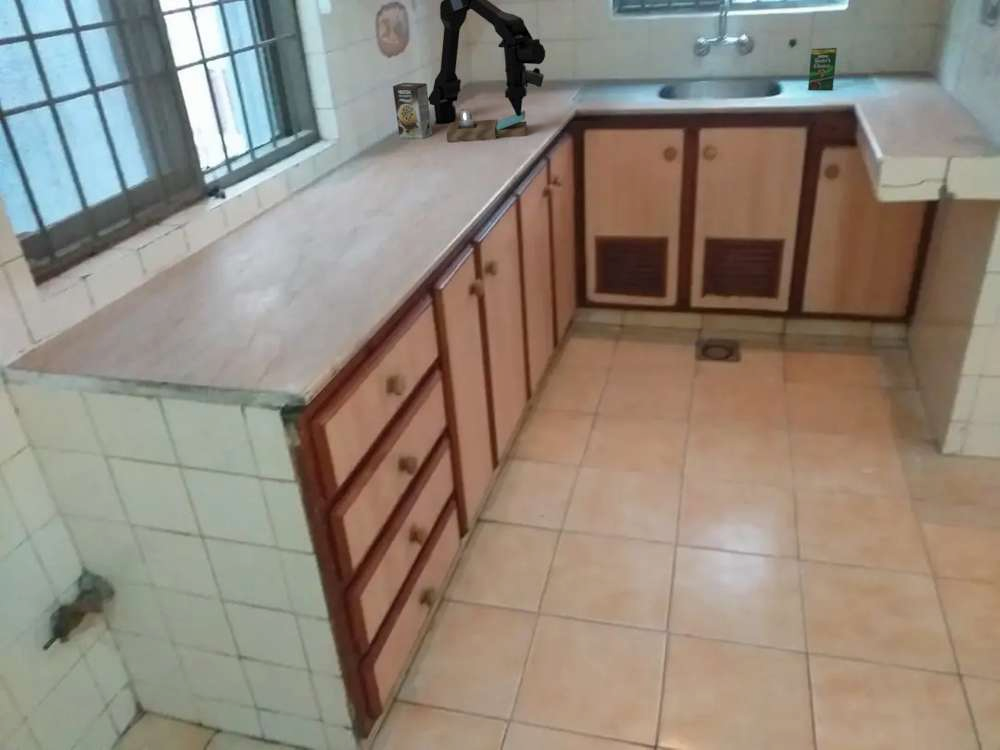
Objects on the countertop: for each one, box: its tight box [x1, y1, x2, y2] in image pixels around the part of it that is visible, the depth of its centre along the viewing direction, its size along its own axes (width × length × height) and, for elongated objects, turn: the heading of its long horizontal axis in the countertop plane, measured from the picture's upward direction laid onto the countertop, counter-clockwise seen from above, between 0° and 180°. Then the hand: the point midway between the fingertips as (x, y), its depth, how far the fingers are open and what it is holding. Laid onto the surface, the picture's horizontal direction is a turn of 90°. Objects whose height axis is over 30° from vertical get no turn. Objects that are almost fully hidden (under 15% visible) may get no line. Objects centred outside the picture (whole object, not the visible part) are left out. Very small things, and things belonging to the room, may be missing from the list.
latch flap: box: [496, 110, 526, 130], centre depth 254 cm, size 9×10×1 cm
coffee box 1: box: [392, 82, 433, 140], centre depth 258 cm, size 9×6×16 cm
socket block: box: [446, 118, 528, 143], centre depth 256 cm, size 24×14×3 cm, turn 87°
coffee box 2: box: [807, 47, 837, 91], centre depth 272 cm, size 8×3×13 cm, turn 62°
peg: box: [459, 107, 475, 129], centre depth 255 cm, size 4×4×8 cm
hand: (519, 115), depth 253 cm, fingers closed, pressing on latch flap
